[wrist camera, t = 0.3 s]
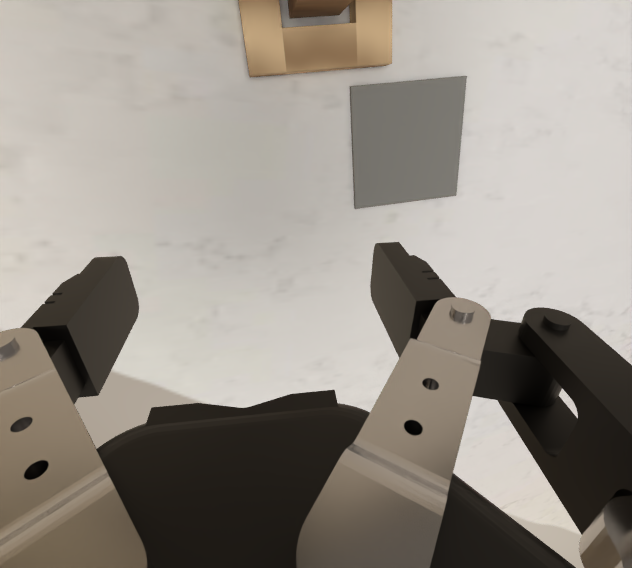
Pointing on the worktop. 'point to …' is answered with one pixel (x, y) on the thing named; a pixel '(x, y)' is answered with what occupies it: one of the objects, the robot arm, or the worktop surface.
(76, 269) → the worktop surface
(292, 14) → the walnut post
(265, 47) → the oak socket
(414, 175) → the grey mat
